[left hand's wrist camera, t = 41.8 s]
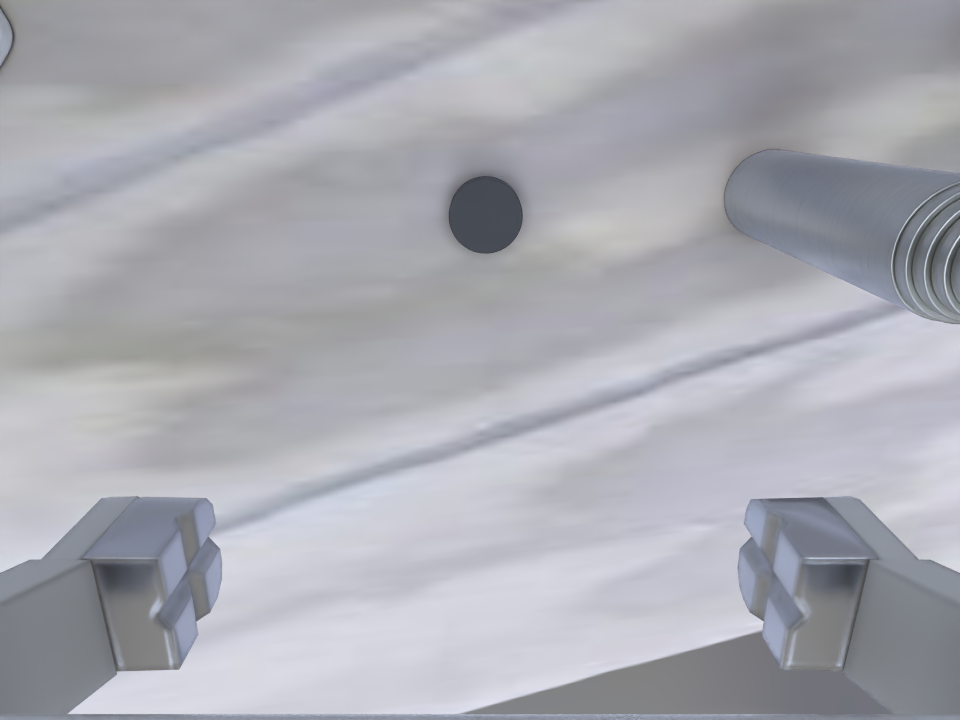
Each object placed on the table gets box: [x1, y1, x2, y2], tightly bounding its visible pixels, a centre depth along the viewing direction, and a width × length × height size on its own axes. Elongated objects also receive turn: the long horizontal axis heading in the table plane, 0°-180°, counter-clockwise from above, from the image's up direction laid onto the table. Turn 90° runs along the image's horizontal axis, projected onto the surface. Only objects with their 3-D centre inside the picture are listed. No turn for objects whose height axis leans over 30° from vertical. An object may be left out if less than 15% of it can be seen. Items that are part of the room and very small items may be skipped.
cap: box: [449, 176, 523, 253], centre depth 43 cm, size 4×4×2 cm
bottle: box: [724, 150, 960, 324], centre depth 32 cm, size 6×6×25 cm
